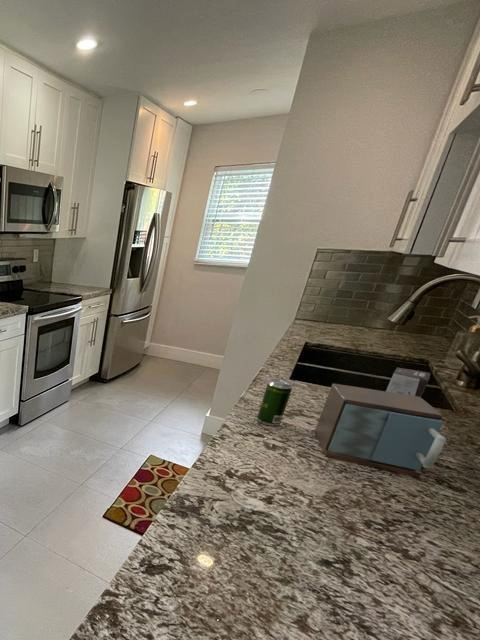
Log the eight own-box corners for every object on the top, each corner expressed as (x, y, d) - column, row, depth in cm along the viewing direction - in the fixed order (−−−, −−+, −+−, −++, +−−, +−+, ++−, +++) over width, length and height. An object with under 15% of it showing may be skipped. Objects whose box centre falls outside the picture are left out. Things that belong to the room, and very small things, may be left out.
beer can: (284, 425, 111) (298, 384, 107) (269, 427, 110) (282, 386, 105) (266, 417, 116) (279, 377, 111) (251, 418, 114) (263, 378, 110)
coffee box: (402, 438, 105) (428, 380, 100) (368, 429, 110) (392, 372, 104) (406, 428, 111) (432, 372, 105) (374, 420, 115) (397, 366, 110)
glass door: (418, 469, 89) (442, 420, 85) (430, 483, 84) (456, 432, 80) (369, 458, 93) (390, 411, 88) (378, 471, 88) (400, 422, 83)
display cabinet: (396, 449, 100) (420, 396, 95) (418, 477, 89) (447, 419, 84) (314, 432, 107) (332, 383, 102) (325, 456, 96) (346, 402, 91)
